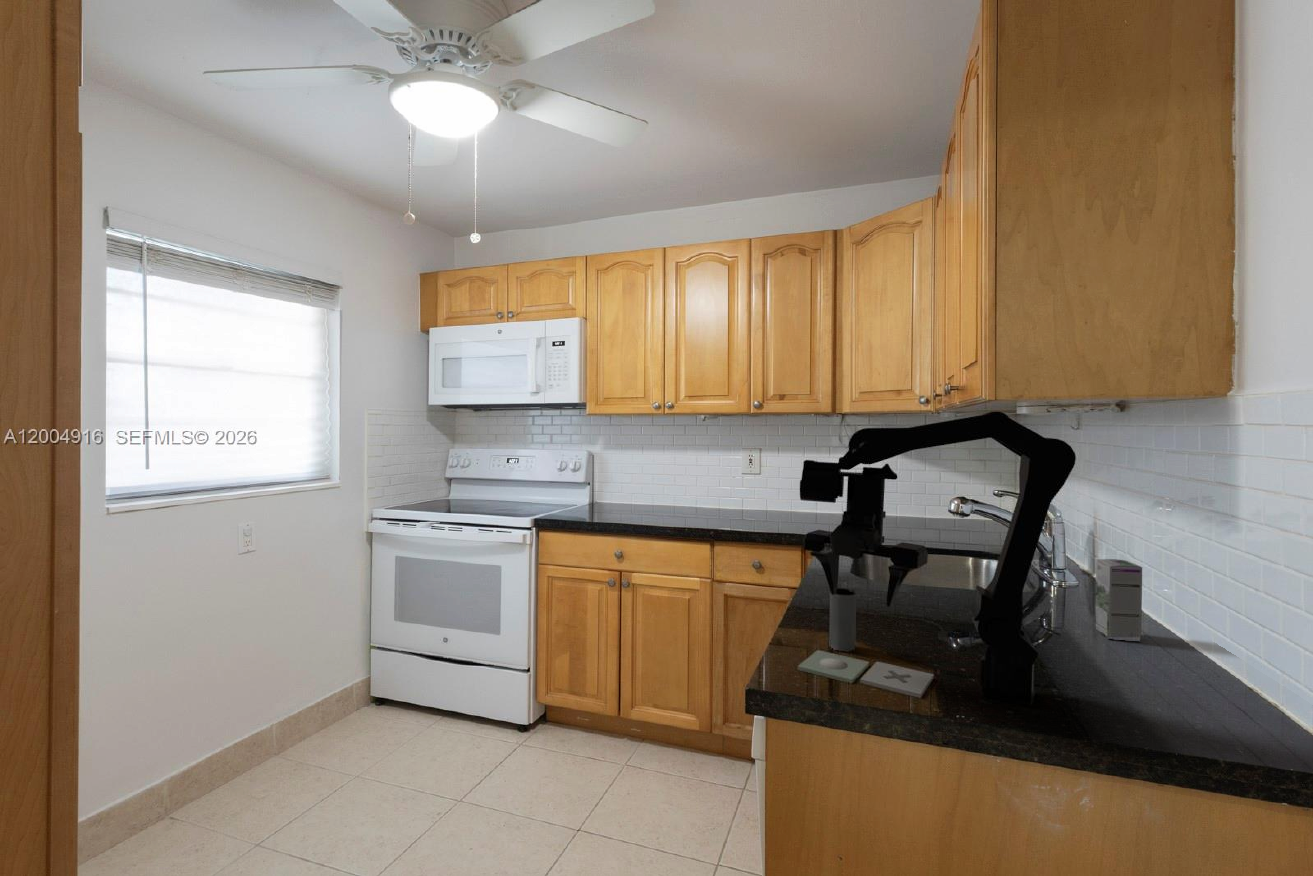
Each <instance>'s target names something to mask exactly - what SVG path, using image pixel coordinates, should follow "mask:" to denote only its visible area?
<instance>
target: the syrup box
mask: <svg viewBox="0 0 1313 876" xmlns="http://www.w3.org/2000/svg"><path fill="white" fill-rule="evenodd" d="M1095 564H1096V566H1095V568H1096V569H1095V574H1096V575H1095V607H1094V608H1095V612H1094V613H1095V615H1094V616H1095V617H1094V622H1095V623H1094V629H1095V628H1096V629H1097V630H1099V631H1100V632H1103V633H1104V634H1105V635H1106V636H1108V637H1109V636H1110V637H1131V638H1132V637H1141V638H1142V613H1143V612H1142V609H1143V608H1142V607H1143V606H1142V605H1143V602H1142V601H1143V567H1142V566H1140V565H1138V564H1135V563H1133V562H1131V561H1128V560H1124V559H1115V558H1113V559H1112V558H1110V559H1109V558H1105V559H1104V558H1102V559H1097V558H1096V561H1095Z"/></svg>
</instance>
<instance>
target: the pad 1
mask: <svg viewBox="0 0 1313 876" xmlns="http://www.w3.org/2000/svg"><path fill="white" fill-rule="evenodd" d="M869 666H870V661H866V660H863V659H858V658H854V657H850V656H845V655H840V654H836V653H832V652H828V651H825V650H824V651H823V650H819V649H818V650H817V649H816V651H815V652H814V653H812V654H811V655H810V656H808V657H807V658H806V659H805V660H803V661H802V662H801V663H800V664H798V665H797V670H798V671H801V672H805V673H809V674H811V675H812V674H813V675H816V676H817V675H818V676H820V677H824V678H829V679H833V680H837V681H841V682H844V683H848V682H849V684H853V683H854V682H855V681H856V680H857V679H858V678H859V677H860V675H862V674H863V672H864V671H865V670H866V669H868V667H869ZM856 678H857V679H856ZM855 679H856V680H855Z"/></svg>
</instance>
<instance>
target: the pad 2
mask: <svg viewBox="0 0 1313 876" xmlns="http://www.w3.org/2000/svg"><path fill="white" fill-rule="evenodd" d="M934 678H935V674H933V673H928V672H925V671H921V670H917V669H911V668H907V667H903V666H899V665H894V664H889V663H885V662H881V661H876V662H875V663H873V665H872V666H871V667H870V668H869V669H868V670H867V671H866V673H865V674H863V676H861V678H860V679H859V683H860V684H862V683H863V685H867V686H872V687H874V688H879V689H883V690H887V691H890V692H894V693H898V694H903V695H905V696H906V695H908V696H911V697H915V698H918V699H922V696H923V695H924V694H925V692H926V691H927V689H928V688H929V686H930V684H931V683H932V681H933V680H934Z"/></svg>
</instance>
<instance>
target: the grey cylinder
mask: <svg viewBox="0 0 1313 876" xmlns="http://www.w3.org/2000/svg"><path fill="white" fill-rule="evenodd" d="M829 591H830V590H829ZM856 615H857V592H856V590H853V589H848V588H843V587H837V592H836V594H835V595H832V594H831V591H830V593H829V628H828V629H829V631H828V632H829V633H828V637H829V639H828V644H829V645H828V646H829V648H830V647H831V648H830V649H832V648H833V649H832V650H834V651H836V650H839V651H838V652H841V651H844V652H845V651H846V652H847V653H850V652H852V650H853V651H854V650H856V627H857V625H856V624H857V623H856V622H857V619H856V618H857V617H856ZM849 651H850V652H849ZM844 652H843V653H844ZM846 652H845V653H846Z"/></svg>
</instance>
